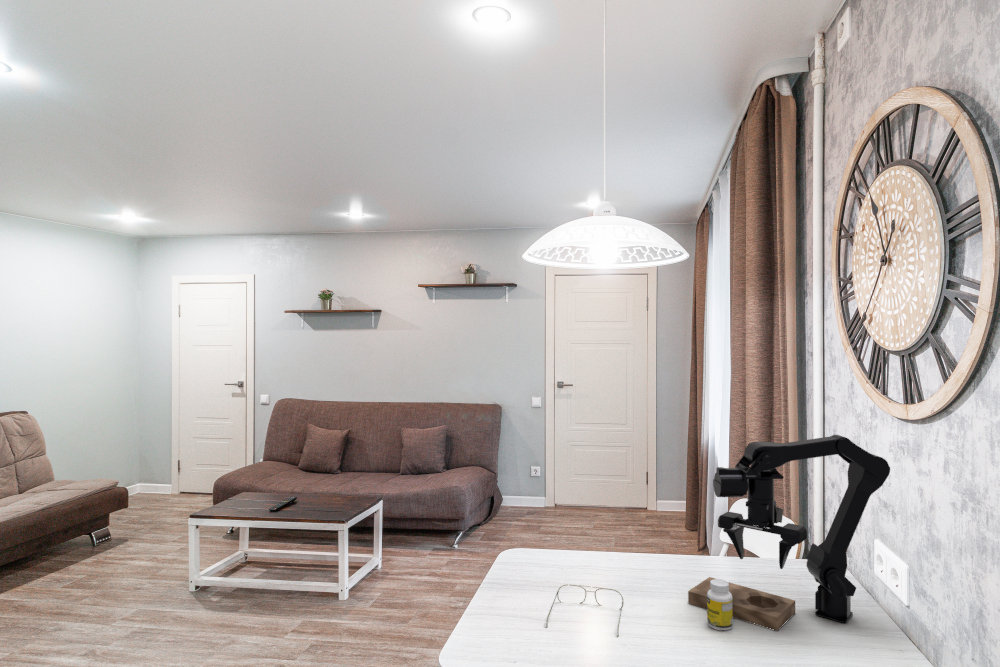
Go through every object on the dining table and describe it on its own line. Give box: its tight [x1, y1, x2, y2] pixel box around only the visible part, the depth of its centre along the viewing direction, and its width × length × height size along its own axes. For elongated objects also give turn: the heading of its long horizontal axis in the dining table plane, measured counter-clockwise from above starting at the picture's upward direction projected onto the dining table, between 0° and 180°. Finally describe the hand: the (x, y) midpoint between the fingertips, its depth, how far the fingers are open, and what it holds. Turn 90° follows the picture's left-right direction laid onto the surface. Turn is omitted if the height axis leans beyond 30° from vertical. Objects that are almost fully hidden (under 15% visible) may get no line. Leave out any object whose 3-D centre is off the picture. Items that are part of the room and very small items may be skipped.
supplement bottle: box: [706, 578, 734, 631], centre depth 140 cm, size 5×5×10 cm
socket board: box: [687, 576, 796, 631], centre depth 149 cm, size 21×12×3 cm, turn 47°
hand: (761, 563), depth 146 cm, fingers open, 9 cm apart
